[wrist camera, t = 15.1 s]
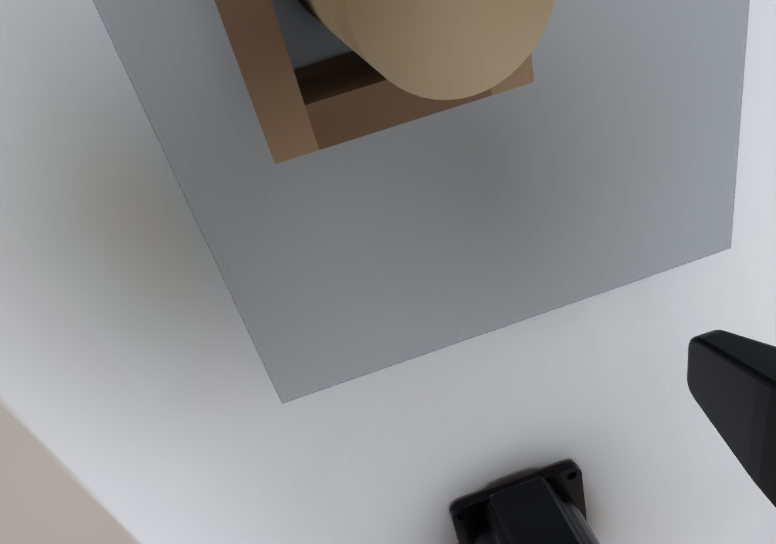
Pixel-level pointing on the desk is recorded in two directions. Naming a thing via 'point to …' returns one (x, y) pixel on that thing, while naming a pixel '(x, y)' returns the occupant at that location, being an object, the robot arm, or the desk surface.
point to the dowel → (438, 39)
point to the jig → (449, 179)
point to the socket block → (322, 88)
